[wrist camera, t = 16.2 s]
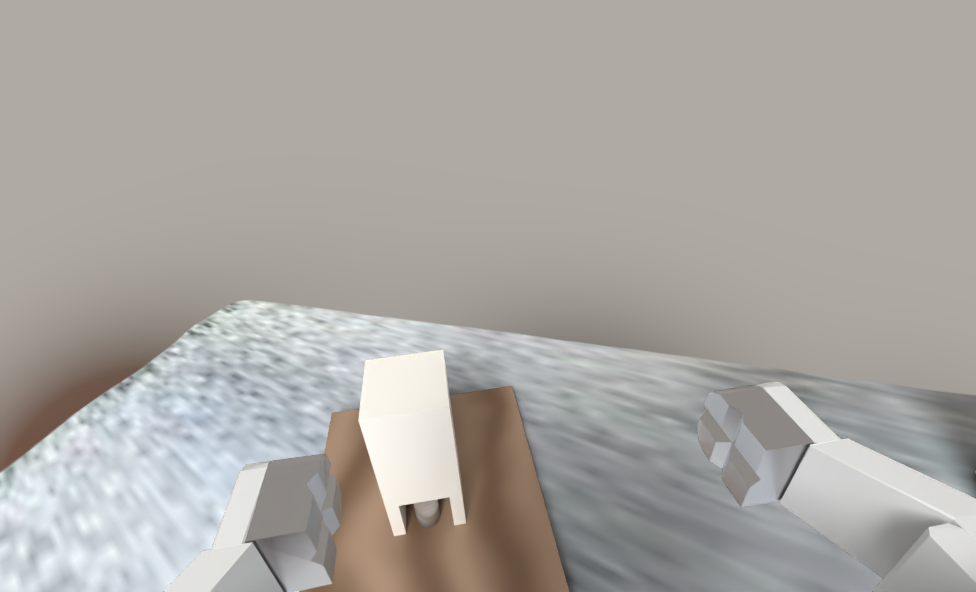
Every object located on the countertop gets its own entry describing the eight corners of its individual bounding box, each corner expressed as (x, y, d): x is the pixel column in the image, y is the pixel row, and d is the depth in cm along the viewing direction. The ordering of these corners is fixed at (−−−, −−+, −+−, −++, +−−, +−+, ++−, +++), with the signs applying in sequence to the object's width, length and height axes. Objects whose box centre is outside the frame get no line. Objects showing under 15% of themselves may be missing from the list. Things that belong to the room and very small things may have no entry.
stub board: (512, 395, 51) (511, 366, 49) (579, 639, 31) (583, 610, 29) (335, 422, 49) (325, 393, 47) (286, 700, 29) (264, 675, 27)
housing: (459, 463, 42) (443, 349, 35) (466, 523, 37) (449, 406, 30) (395, 473, 42) (365, 360, 34) (394, 536, 37) (358, 420, 29)
